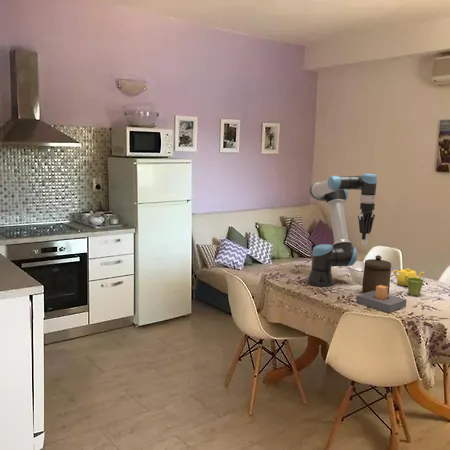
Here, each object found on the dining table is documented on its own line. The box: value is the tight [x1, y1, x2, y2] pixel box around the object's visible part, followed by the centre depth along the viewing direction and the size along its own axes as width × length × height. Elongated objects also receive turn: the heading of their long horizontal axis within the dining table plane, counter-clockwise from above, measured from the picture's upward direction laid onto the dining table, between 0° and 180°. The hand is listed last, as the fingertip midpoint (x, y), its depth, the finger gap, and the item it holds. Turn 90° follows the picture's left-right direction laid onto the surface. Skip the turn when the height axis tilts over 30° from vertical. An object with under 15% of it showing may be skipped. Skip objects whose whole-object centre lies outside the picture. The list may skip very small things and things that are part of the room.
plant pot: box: [407, 278, 425, 297], centre depth 295 cm, size 9×9×9 cm
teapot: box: [393, 268, 425, 287], centre depth 313 cm, size 14×13×10 cm
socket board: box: [355, 290, 408, 314], centre depth 275 cm, size 20×16×4 cm
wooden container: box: [361, 255, 392, 295], centre depth 295 cm, size 15×15×22 cm
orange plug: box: [375, 285, 388, 300], centre depth 275 cm, size 4×4×9 cm
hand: (364, 245), depth 284 cm, fingers closed
